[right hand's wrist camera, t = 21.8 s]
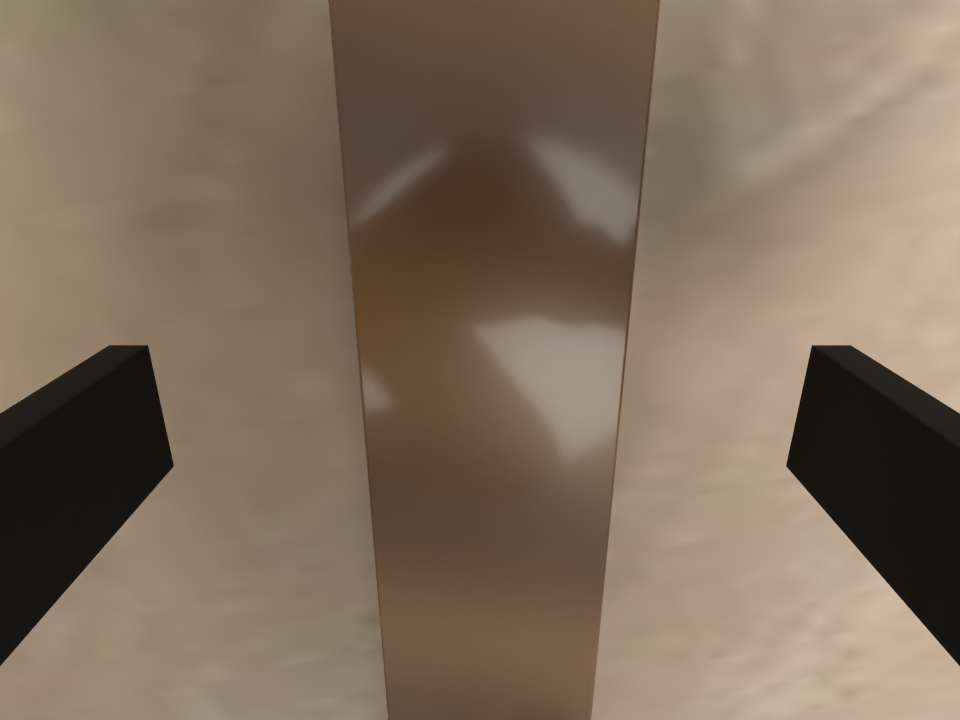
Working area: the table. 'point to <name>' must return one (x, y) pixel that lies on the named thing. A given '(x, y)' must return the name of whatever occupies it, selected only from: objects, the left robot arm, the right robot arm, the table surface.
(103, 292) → the table surface
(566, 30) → the bar
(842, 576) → the table surface
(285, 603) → the table surface
